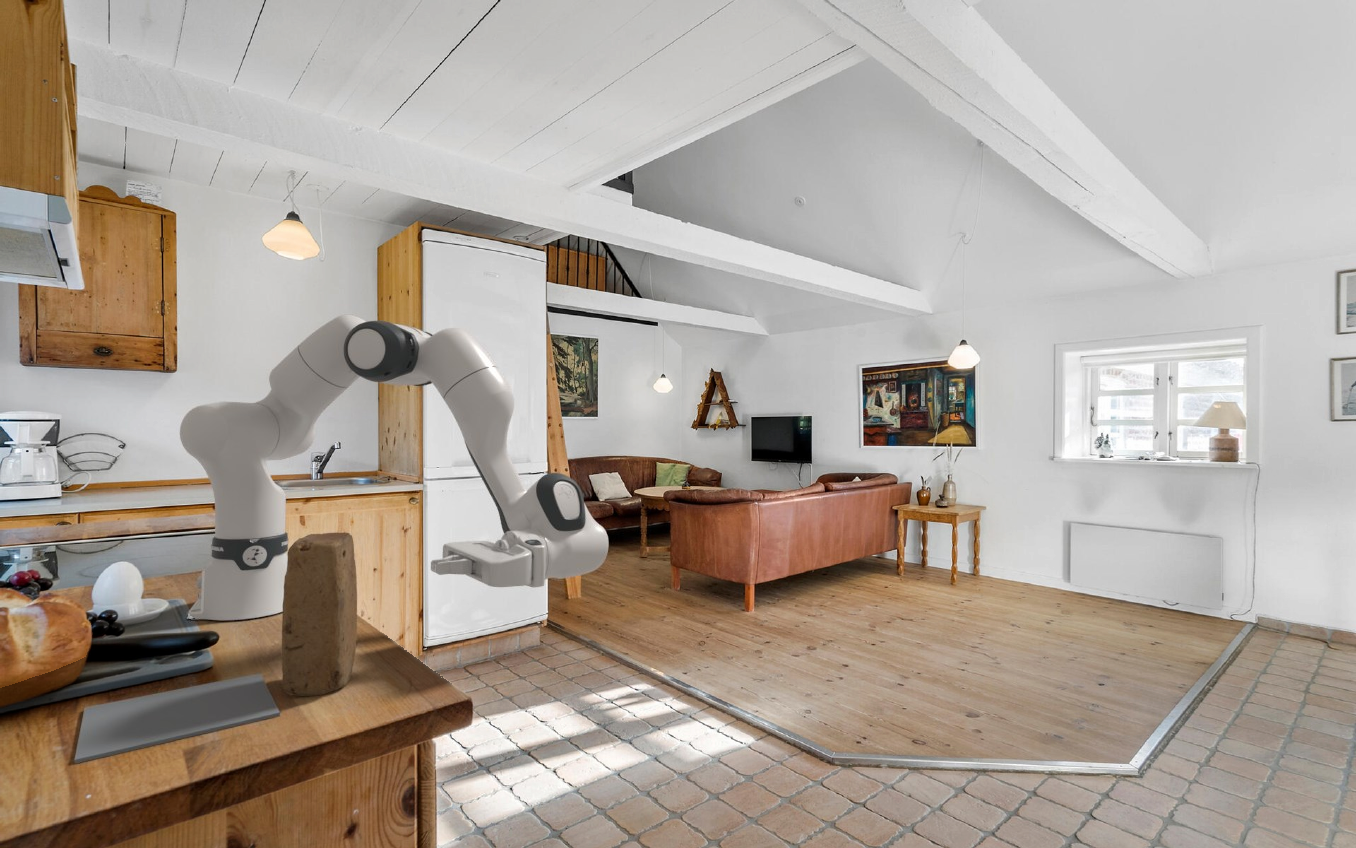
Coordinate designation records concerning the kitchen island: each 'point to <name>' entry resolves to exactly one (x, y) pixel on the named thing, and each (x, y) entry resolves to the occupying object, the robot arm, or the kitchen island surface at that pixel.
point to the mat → (172, 716)
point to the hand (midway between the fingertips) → (434, 567)
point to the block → (319, 614)
